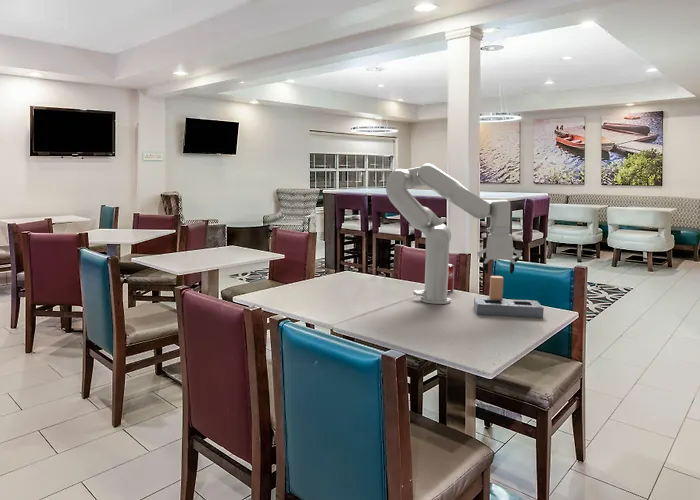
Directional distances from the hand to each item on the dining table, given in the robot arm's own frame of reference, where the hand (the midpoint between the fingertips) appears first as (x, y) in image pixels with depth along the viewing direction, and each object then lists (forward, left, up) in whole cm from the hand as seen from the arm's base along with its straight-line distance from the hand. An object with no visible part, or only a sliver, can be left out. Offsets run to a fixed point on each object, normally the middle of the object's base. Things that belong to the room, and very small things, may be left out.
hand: (498, 273), depth 205 cm
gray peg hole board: (+2, -11, -14) cm, 18 cm away
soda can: (-20, +28, -14) cm, 37 cm away
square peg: (-1, 0, -14) cm, 14 cm away
